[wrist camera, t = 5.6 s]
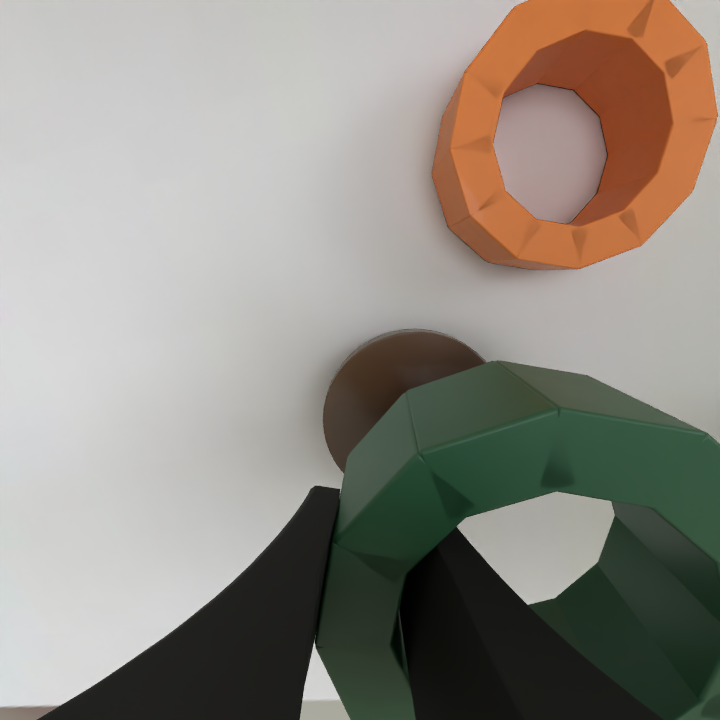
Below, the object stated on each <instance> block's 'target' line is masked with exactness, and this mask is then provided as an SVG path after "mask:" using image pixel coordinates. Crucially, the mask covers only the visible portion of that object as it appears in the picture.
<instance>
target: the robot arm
mask: <svg viewBox="0 0 720 720" xmlns="http://www.w3.org/2000/svg"><path fill="white" fill-rule="evenodd" d="M339 497H340V489H336V488H329V487H322V486H314V487H313V488H311V489H310V491H309V494H308V495H307V497H306V499H305V500H304V502H303V503H302V505H301V506H300V508H299V509H298V510H297V512H296V513H295V515H294V516H293V517H292V518H291V520H290V521H289V522H288V523H287V525H286V526H285V527H284V528H283V530H282V531H281V532H280V533H279V534H278V536H277V537H276V538H275V539H274V540H273V541H272V542H271V543H270V545H269V546H268V547H267V548H266V549H265V550H264V551H263V552H262V553H261V554H260V555H259V556H258V557H257V558H256V560H255V561H254V562H253V563H252V564H251V565H250V566H249V567H248V568H247V569H246V570H245V571H243V572H242V573H241V574H240V575H239V576H238V577H237V578H236V579H235V580H234V581H233V582H232V583H231V584H230V585H228V586H227V587H226V588H225V589H224V590H223V591H222V592H221V593H219V594H218V595H217V596H216V597H215V598H214V599H212V600H211V601H210V602H209V603H207V604H206V605H205V606H204V607H203V608H201V609H200V610H199V611H198V612H196V613H195V614H194V615H193V616H191V617H190V618H189V619H188V620H187V621H185V622H184V623H183V624H181V625H180V626H179V627H177V628H176V629H175V630H173V631H172V632H171V633H169V634H168V635H167V636H165V637H164V638H163V639H161V640H160V641H158V642H157V643H155V644H154V645H153V646H151V647H150V648H148V649H147V650H145V651H144V652H142V653H141V654H139V655H138V656H137V657H135V658H134V659H132V660H131V661H129V662H128V663H126V664H125V665H124V666H122V667H121V668H119V669H118V670H116V671H115V672H113V673H112V674H110V675H109V676H108V677H106V678H105V679H103V680H101V681H100V682H98V683H97V684H95V685H94V686H92V687H91V688H89V689H87V690H86V691H84V692H83V693H81V694H79V695H78V696H76V697H74V698H73V699H71V700H69V701H68V702H66V703H64V704H62V705H61V706H59V707H57V708H56V709H54V710H53V711H51V712H49V713H47V714H46V715H44V716H42V717H41V718H39V719H37V720H300V713H301V705H302V698H303V691H304V685H305V681H306V676H307V671H308V667H309V662H310V658H311V653H312V649H313V644H314V640H315V635H316V631H317V625H318V619H319V613H320V607H321V601H322V595H323V589H324V583H325V577H326V571H327V565H328V559H329V553H330V547H331V541H332V536H333V531H334V525H335V520H336V515H337V511H338V507H339ZM399 613H400V620H401V627H402V634H403V641H404V647H405V654H406V660H407V667H408V673H409V680H410V686H411V693H412V699H413V706H414V712H415V719H416V720H664V719H663V718H661V717H660V716H659V715H657V714H656V713H655V712H653V711H652V710H651V709H649V708H648V707H647V706H645V705H644V704H643V703H641V702H640V701H639V700H637V699H636V698H635V697H634V696H632V695H631V694H630V693H629V692H627V691H626V690H625V689H624V688H622V687H621V686H620V685H619V684H617V683H616V682H615V681H614V680H612V679H611V678H610V677H609V676H607V675H606V674H605V673H604V672H602V671H601V670H600V669H599V668H597V667H596V666H595V665H594V664H593V663H591V662H590V661H589V660H588V659H587V658H585V657H584V656H583V655H582V654H581V653H579V652H578V651H577V650H576V649H575V648H574V647H573V646H571V645H570V644H569V643H568V642H567V641H566V640H565V639H564V638H563V637H561V636H560V635H559V634H558V633H557V632H556V631H555V630H554V629H553V628H551V627H550V626H549V625H548V624H547V623H546V622H545V621H544V620H543V619H542V618H540V617H539V616H538V615H537V614H536V613H535V612H534V611H533V610H532V609H531V608H530V607H529V606H528V605H527V604H526V603H525V602H524V601H523V600H522V599H521V598H520V597H519V596H518V595H517V594H516V593H515V592H514V591H513V590H512V589H511V588H510V587H509V586H508V585H507V584H506V583H505V582H504V580H503V579H502V578H501V577H500V576H499V575H498V574H497V573H496V572H495V571H494V570H493V569H492V568H491V566H490V565H489V564H488V563H487V562H486V561H485V560H484V559H483V557H482V556H481V555H480V554H479V553H478V552H477V551H476V549H475V548H474V547H473V546H472V545H471V544H470V542H469V541H468V540H467V539H466V538H465V537H464V535H463V534H462V533H461V532H460V531H459V529H458V528H457V527H455V528H454V529H453V530H452V531H451V532H450V533H449V534H448V535H447V536H446V537H445V538H444V539H443V540H442V541H441V542H440V543H439V544H438V545H437V546H435V547H434V548H433V549H432V550H431V551H430V552H429V553H428V554H427V555H426V556H425V557H424V558H423V559H422V560H421V561H420V562H419V563H418V564H417V565H416V566H415V567H414V568H413V569H412V570H411V571H409V572H408V573H407V577H406V581H405V586H404V590H403V595H402V599H401V604H400V608H399Z"/></svg>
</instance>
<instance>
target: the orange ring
mask: <svg viewBox="0 0 720 720" xmlns="http://www.w3.org/2000/svg"><path fill="white" fill-rule="evenodd" d="M536 83H540V84H545V85H551V86H556V87H562V88H568V89H573V90H574V91H575V92H576V93H577V94H578V95H579V96H580V97H581V98H582V99H583V100H584V101H585V102H586V103H587V104H588V105H589V106H590V107H591V108H592V109H593V110H594V111H595V112H596V113H597V114H598V115H599V116H600V120H601V124H602V129H603V134H604V138H605V143H606V147H607V152H608V158H607V161H606V165H605V168H604V172H603V175H602V179H601V182H600V186H599V190H598V193H597V194H596V195H595V196H594V198H593V199H592V200H591V201H590V202H589V203H588V204H587V205H586V207H585V208H584V209H583V210H582V211H581V212H580V213H579V214H578V216H577V217H576V218H575V219H574V220H573V221H572V222H571V223H569V224H562V223H556V222H550V221H544V220H538V219H535V218H534V217H533V216H532V215H531V214H530V213H529V212H528V211H527V210H526V209H525V208H524V207H523V206H521V205H520V204H519V203H518V202H517V201H516V200H515V199H514V198H513V197H512V196H511V195H510V194H509V193H508V192H506V191H505V187H504V183H503V180H502V176H501V173H500V169H499V165H498V162H497V158H496V155H495V151H494V147H493V141H494V136H495V132H496V127H497V122H498V118H499V113H500V108H501V104H502V99H503V97H505V96H507V95H510V94H512V93H515V92H517V91H519V90H522V89H524V88H526V87H529V86H531V85H533V84H536ZM717 117H718V113H717V107H716V100H715V94H714V87H713V81H712V74H711V67H710V61H709V54H708V48H707V43H706V41H705V40H704V38H703V37H702V36H701V35H700V34H699V33H698V32H697V31H696V30H695V28H694V27H693V26H692V25H691V24H690V23H689V22H688V21H687V19H686V18H685V17H684V16H683V15H682V14H681V13H680V12H679V10H678V9H677V8H676V7H675V6H674V5H673V4H672V3H671V2H670V0H528V1H526V2H524V3H521V4H519V5H517V6H515V7H514V8H513V9H512V10H511V11H510V12H509V14H508V15H507V16H506V18H505V19H504V20H503V22H502V23H501V24H500V26H499V27H498V28H497V30H496V31H495V32H494V34H493V35H492V36H491V37H490V39H489V40H488V41H487V43H486V44H485V45H484V47H483V48H482V49H481V51H480V52H479V53H478V55H477V56H476V57H475V59H474V60H473V61H472V62H471V64H470V65H469V66H468V68H467V69H466V70H465V72H464V74H463V76H462V78H461V80H460V82H459V84H458V86H457V88H456V90H455V92H454V94H453V96H452V98H451V100H450V102H449V104H448V106H447V108H446V110H445V112H444V114H443V116H442V121H441V127H440V132H439V137H438V143H437V148H436V154H435V159H434V164H433V170H432V178H433V181H434V184H435V187H436V190H437V194H438V197H439V200H440V203H441V206H442V209H443V213H444V216H445V219H446V222H447V225H448V227H449V228H450V230H452V231H453V232H454V233H455V234H456V235H457V236H458V237H459V238H461V239H462V240H463V241H464V242H465V243H466V244H467V245H468V246H470V247H471V248H472V249H473V250H474V251H475V252H476V253H477V254H479V255H480V256H481V257H482V258H483V259H484V260H485V261H487V262H490V263H496V264H502V265H508V266H514V267H520V268H526V269H532V270H563V269H581V268H583V267H586V266H589V265H591V264H594V263H597V262H599V261H602V260H605V259H607V258H610V257H613V256H615V255H618V254H621V253H623V252H626V251H629V250H631V249H634V248H637V247H639V246H641V245H642V244H644V243H645V242H646V241H647V239H648V238H649V237H650V236H651V235H652V234H653V233H654V232H655V231H656V230H657V229H658V228H659V227H660V226H661V225H662V224H663V223H664V221H665V220H666V219H667V218H668V217H669V216H670V215H671V214H672V213H673V212H674V211H675V210H676V209H677V208H678V207H679V206H680V205H681V203H682V202H683V201H684V200H685V199H686V198H687V197H688V196H689V195H690V194H691V193H692V190H693V189H694V186H695V183H696V181H697V178H698V175H699V172H700V169H701V166H702V163H703V160H704V157H705V154H706V151H707V148H708V145H709V142H710V139H711V136H712V133H713V130H714V127H715V124H716V121H717Z"/></svg>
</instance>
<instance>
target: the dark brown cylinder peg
mask: <svg viewBox="0 0 720 720" xmlns="http://www.w3.org/2000/svg"><path fill="white" fill-rule="evenodd" d="M485 363H487V362H486V361H485V360H484V359H483V358H482V357H481V356H480V355H479V354H478V353H477V352H475V351H474V350H472V349H471V348H470V347H468V346H467V345H465V344H464V343H463V342H461V341H459V340H457V339H455V338H453V337H451V336H449V335H446V334H443V333H440V332H436V331H431V330H424V329H404V330H399V331H393V332H390V333H386V334H383V335H380V336H378V337H376V338H374V339H372V340H370V341H368V342H367V343H365V344H363V345H362V346H360V347H359V348H358V349H357V350H355V351H354V352H353V353H352V354H351V355H350V356H349V357H348V358H347V359H346V360H345V361H344V362H343V364H342V365H341V366H340V368H339V369H338V371H337V372H336V374H335V376H334V378H333V380H332V382H331V385H330V387H329V390H328V393H327V396H326V401H325V405H324V413H323V427H324V434H325V439H326V443H327V446H328V448H329V451H330V453H331V455H332V457H333V459H334V461H335V462H336V464H337V465H338V467H339V468H340V470H341V471H342V472H343V473H345V468H346V463H347V457H348V455H349V454H350V452H351V451H352V450H353V449H354V448H355V447H356V445H357V444H358V443H359V442H360V441H361V440H362V439H363V438H364V437H365V435H366V434H367V433H368V432H369V431H370V430H371V429H372V428H373V427H374V425H375V424H376V423H377V422H378V421H379V420H380V419H381V418H382V416H383V415H384V414H385V413H386V412H387V411H388V410H389V409H390V408H391V406H392V405H393V404H394V403H395V402H396V401H397V400H398V399H399V398H400V396H401V395H402V394H403V393H405V392H406V391H408V390H409V389H412V388H415V387H418V386H421V385H424V384H427V383H430V382H433V381H436V380H439V379H442V378H444V377H447V376H450V375H453V374H456V373H459V372H462V371H465V370H468V369H471V368H474V367H477V366H480V365H482V364H485Z"/></svg>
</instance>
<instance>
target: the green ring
mask: <svg viewBox="0 0 720 720" xmlns="http://www.w3.org/2000/svg"><path fill="white" fill-rule="evenodd" d="M556 491H558V492H563V493H569V494H575V495H580V496H586V497H592V498H597V499H603V500H609V501H611V502H612V506H613V509H614V513H615V516H614V519H613V522H612V525H611V528H610V530H609V533H608V536H607V539H606V541H605V544H604V547H603V550H602V553H601V555H600V558H599V561H598V563H597V564H595V565H594V566H593V567H592V568H591V569H589V570H588V571H587V572H586V573H585V574H583V575H582V576H581V577H580V578H579V579H577V580H576V581H575V582H574V583H573V584H571V585H570V586H569V587H568V588H567V589H565V590H564V591H563V592H562V593H561V594H559V595H558V596H557V597H556V598H554V599H550V600H546V601H542V602H538V603H534V604H530V605H528V606H529V607H530V608H531V609H532V610H533V611H534V612H535V613H536V614H537V615H538V616H539V617H540V618H542V619H543V620H544V621H545V622H546V623H547V624H548V625H549V626H550V627H551V628H553V629H554V630H555V631H556V632H557V633H558V634H559V635H560V636H561V637H563V638H564V639H565V640H566V641H567V642H568V643H569V644H570V645H571V646H573V647H574V648H575V649H576V650H577V651H578V652H579V653H581V654H582V655H583V656H584V657H585V658H587V659H588V660H589V661H590V662H591V663H593V664H594V665H595V666H596V667H597V668H599V669H600V670H601V671H602V672H604V673H605V674H606V675H607V676H609V677H610V678H611V679H612V680H614V681H615V682H616V683H617V684H619V685H620V686H621V687H622V688H624V689H625V690H626V691H627V692H629V693H630V694H631V695H632V696H634V697H635V698H636V699H637V700H639V701H640V702H641V703H643V704H644V705H645V706H647V707H648V708H649V709H651V710H652V711H653V712H655V713H656V714H657V715H659V716H660V717H661V718H663V719H664V720H720V444H719V443H718V442H717V441H716V440H715V439H713V438H712V437H711V436H710V435H709V434H708V433H706V432H703V431H701V430H699V429H697V428H695V427H693V426H691V425H689V424H687V423H685V422H683V421H681V420H679V419H677V418H675V417H672V416H670V415H668V414H666V413H664V412H662V411H660V410H658V409H656V408H654V407H652V406H650V405H648V404H646V403H644V402H641V401H639V400H637V399H635V398H633V397H631V396H629V395H627V394H625V393H623V392H621V391H619V390H617V389H615V388H612V387H610V386H608V385H606V384H604V383H602V382H600V381H598V380H596V379H594V378H592V377H590V376H588V375H582V374H576V373H570V372H564V371H558V370H552V369H546V368H540V367H534V366H529V365H523V364H517V363H511V362H505V361H499V360H497V361H491V362H488V363H485V364H482V365H480V366H477V367H474V368H471V369H468V370H465V371H462V372H459V373H456V374H453V375H450V376H447V377H444V378H442V379H439V380H436V381H433V382H430V383H427V384H424V385H421V386H418V387H415V388H412V389H409V390H408V391H406V392H405V393H403V394H402V395H401V396H400V398H399V399H398V400H397V401H396V402H395V403H394V404H393V405H392V406H391V408H390V409H389V410H388V411H387V412H386V413H385V414H384V415H383V416H382V418H381V419H380V420H379V421H378V422H377V423H376V424H375V425H374V427H373V428H372V429H371V430H370V431H369V432H368V433H367V434H366V435H365V437H364V438H363V439H362V440H361V441H360V442H359V443H358V444H357V445H356V447H355V448H354V449H353V450H352V451H351V452H350V454H349V455H348V457H347V463H346V468H345V473H344V478H343V484H342V489H341V494H340V499H339V507H338V511H337V515H336V520H335V525H334V531H333V536H332V541H331V547H330V553H329V559H328V565H327V571H326V577H325V583H324V589H323V595H322V601H321V607H320V613H319V619H318V625H317V631H316V637H315V645H316V649H317V651H318V654H319V656H320V658H321V660H322V662H323V664H324V666H325V668H326V670H327V672H328V674H329V676H330V678H331V680H332V682H333V684H334V686H335V688H336V690H337V693H338V695H339V697H340V699H341V701H342V703H343V705H344V707H345V709H346V711H347V713H348V715H349V717H350V719H351V720H416V719H415V712H414V706H413V699H412V693H411V686H410V680H409V673H408V667H407V660H406V654H405V647H404V641H403V634H402V627H401V620H400V613H399V608H400V604H401V599H402V595H403V590H404V586H405V581H406V577H407V573H408V572H409V571H411V570H412V569H413V568H414V567H415V566H416V565H417V564H418V563H419V562H420V561H421V560H422V559H423V558H424V557H425V556H426V555H427V554H428V553H429V552H430V551H431V550H432V549H433V548H434V547H435V546H437V545H438V544H439V543H440V542H441V541H442V540H443V539H444V538H445V537H446V536H447V535H448V534H449V533H450V532H451V531H452V530H453V529H454V528H455V527H456V526H457V525H458V524H459V523H460V522H461V521H463V520H464V519H465V518H466V517H469V516H473V515H476V514H480V513H483V512H487V511H490V510H494V509H497V508H501V507H504V506H508V505H511V504H515V503H518V502H521V501H525V500H528V499H532V498H535V497H539V496H542V495H546V494H549V493H553V492H556Z"/></svg>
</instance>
